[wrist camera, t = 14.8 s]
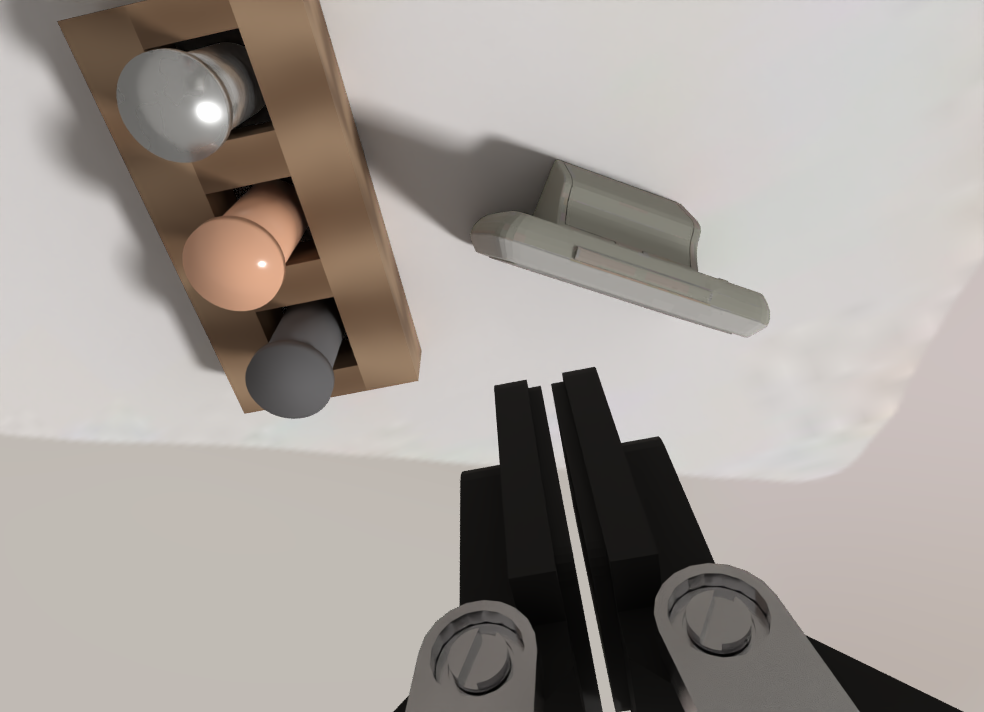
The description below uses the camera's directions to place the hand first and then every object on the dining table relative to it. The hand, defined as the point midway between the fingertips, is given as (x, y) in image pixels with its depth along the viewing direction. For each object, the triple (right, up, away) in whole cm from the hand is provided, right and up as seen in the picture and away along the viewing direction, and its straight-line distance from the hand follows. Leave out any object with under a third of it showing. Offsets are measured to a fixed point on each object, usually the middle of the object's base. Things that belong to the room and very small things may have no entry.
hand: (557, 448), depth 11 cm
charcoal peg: (-13, +4, +34) cm, 36 cm away
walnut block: (-14, +11, +30) cm, 35 cm away
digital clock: (+6, +9, +32) cm, 34 cm away
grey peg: (-16, +17, +26) cm, 35 cm away
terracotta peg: (-14, +10, +29) cm, 34 cm away
